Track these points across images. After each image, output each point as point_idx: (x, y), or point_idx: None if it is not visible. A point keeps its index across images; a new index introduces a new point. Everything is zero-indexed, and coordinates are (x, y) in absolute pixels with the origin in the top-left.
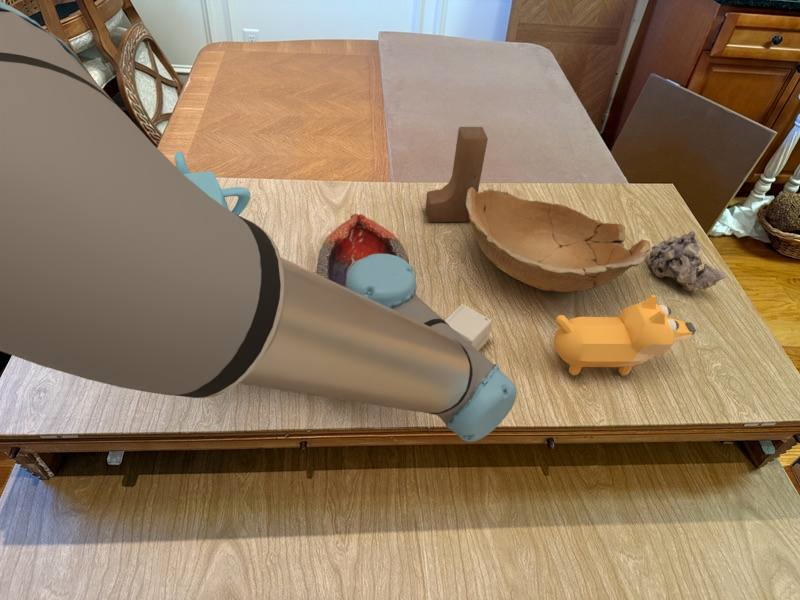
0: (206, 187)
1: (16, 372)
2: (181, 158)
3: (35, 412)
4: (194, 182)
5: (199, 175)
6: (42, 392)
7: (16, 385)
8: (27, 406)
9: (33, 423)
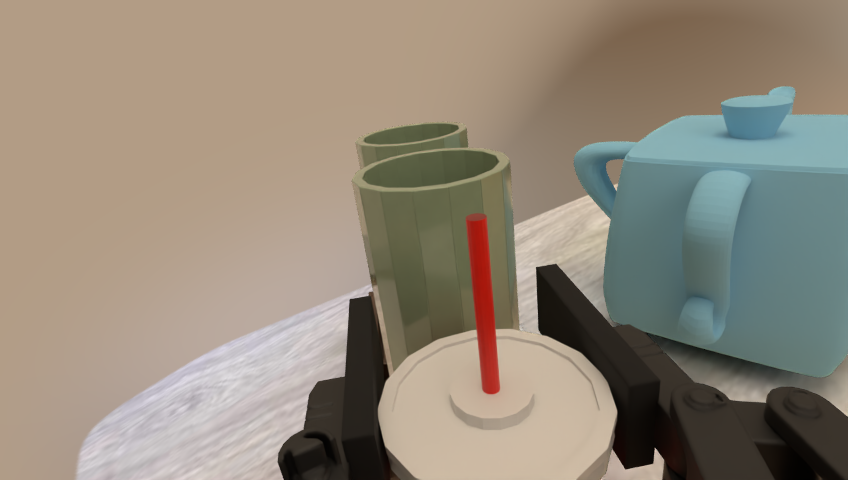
0: (829, 133)
1: (232, 346)
2: (784, 96)
3: (129, 434)
4: (793, 124)
5: (819, 118)
6: (188, 405)
7: (201, 365)
8: (147, 412)
9: (95, 453)
